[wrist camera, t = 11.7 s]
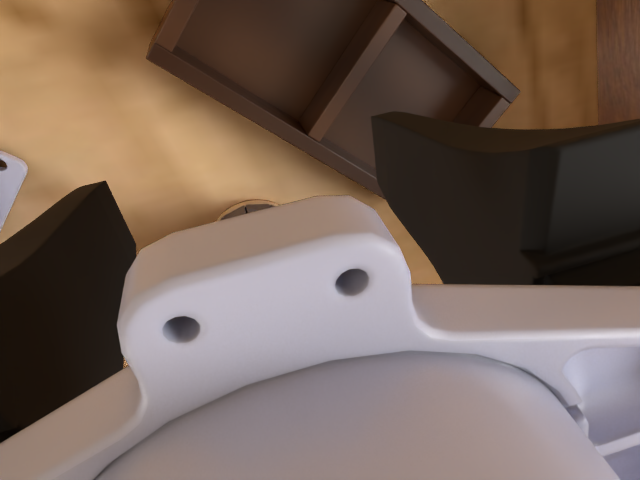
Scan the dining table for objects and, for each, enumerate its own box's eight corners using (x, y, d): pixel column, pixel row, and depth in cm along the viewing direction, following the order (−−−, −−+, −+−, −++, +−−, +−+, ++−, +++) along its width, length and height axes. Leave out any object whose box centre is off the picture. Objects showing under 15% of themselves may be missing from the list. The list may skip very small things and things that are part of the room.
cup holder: (399, 197, 27) (417, 218, 25) (148, 45, 20) (145, 58, 18) (492, 78, 24) (521, 92, 22) (244, -145, 17) (253, -155, 15)
